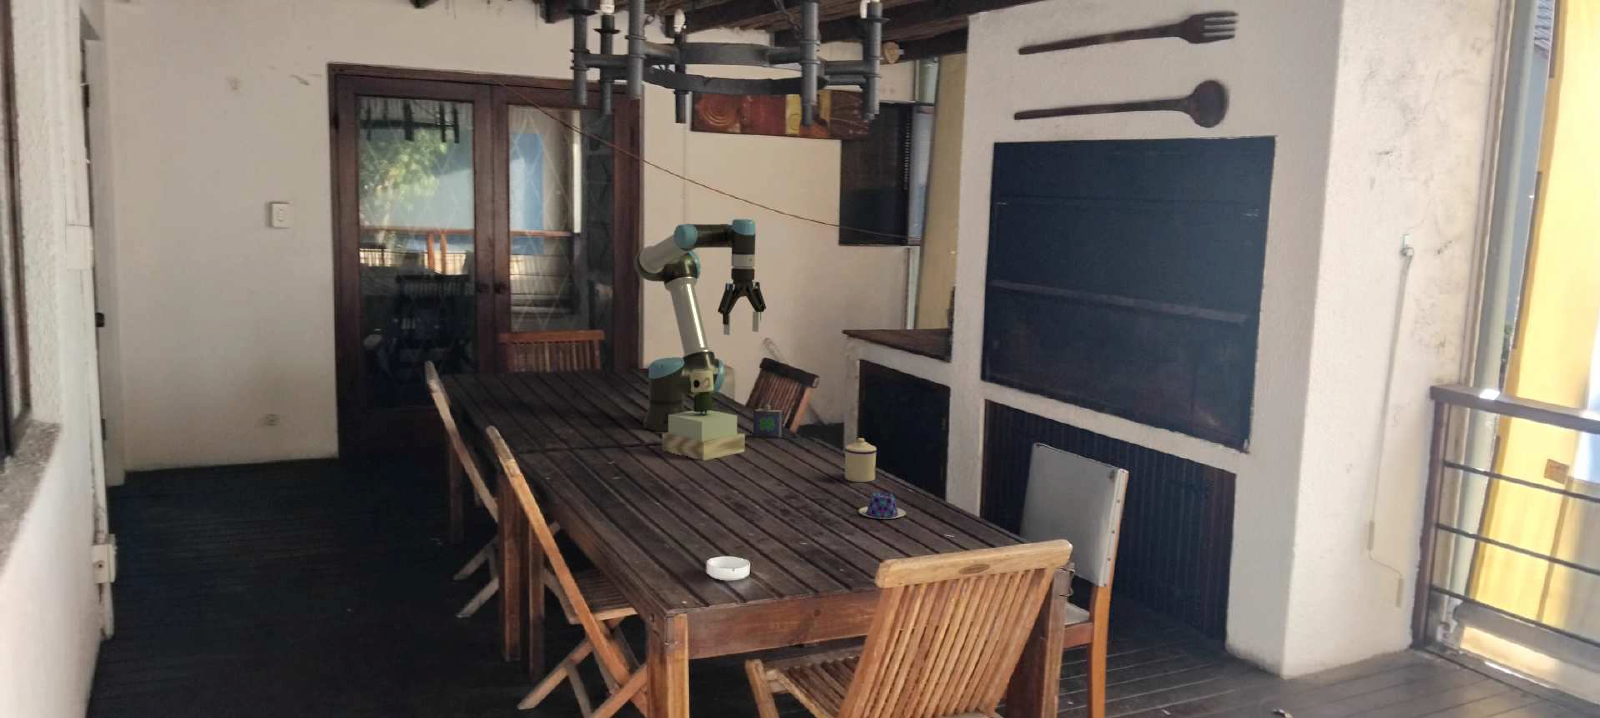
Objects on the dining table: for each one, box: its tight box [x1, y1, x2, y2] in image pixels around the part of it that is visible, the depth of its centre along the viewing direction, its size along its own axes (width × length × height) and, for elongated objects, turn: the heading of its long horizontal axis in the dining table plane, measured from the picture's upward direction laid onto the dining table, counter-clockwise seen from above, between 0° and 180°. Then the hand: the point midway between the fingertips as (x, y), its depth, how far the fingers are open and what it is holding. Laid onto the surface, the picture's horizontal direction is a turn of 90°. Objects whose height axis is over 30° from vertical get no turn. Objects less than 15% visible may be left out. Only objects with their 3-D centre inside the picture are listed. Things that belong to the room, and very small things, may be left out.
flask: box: [753, 404, 783, 439], centre depth 392 cm, size 9×3×11 cm, turn 87°
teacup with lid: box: [844, 437, 878, 483], centre depth 339 cm, size 12×9×12 cm
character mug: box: [690, 371, 715, 413], centre depth 368 cm, size 11×7×13 cm, turn 33°
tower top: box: [667, 410, 738, 441], centre depth 368 cm, size 15×15×6 cm
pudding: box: [858, 491, 907, 520], centre depth 302 cm, size 12×12×5 cm
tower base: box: [661, 432, 746, 461], centre depth 369 cm, size 18×18×6 cm
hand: (741, 333), depth 384 cm, fingers open, 13 cm apart
